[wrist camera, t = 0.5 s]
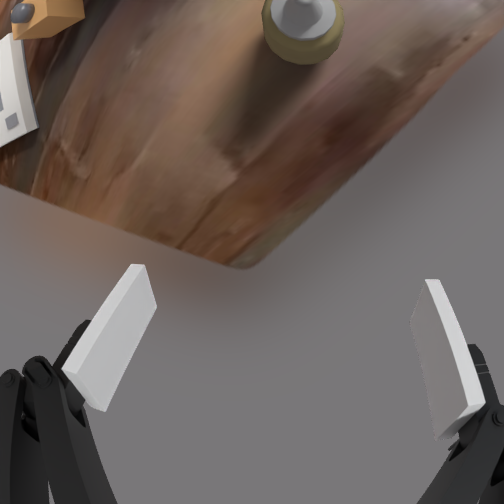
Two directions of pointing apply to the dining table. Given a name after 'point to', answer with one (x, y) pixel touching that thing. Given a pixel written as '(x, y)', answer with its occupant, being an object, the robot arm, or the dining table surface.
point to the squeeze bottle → (303, 29)
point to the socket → (15, 92)
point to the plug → (44, 17)
